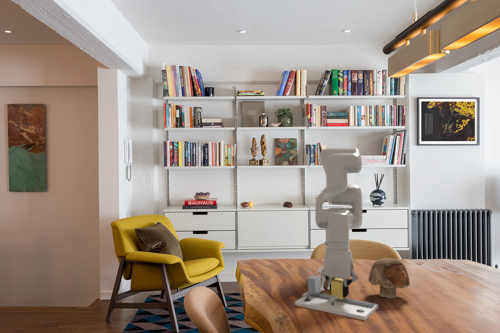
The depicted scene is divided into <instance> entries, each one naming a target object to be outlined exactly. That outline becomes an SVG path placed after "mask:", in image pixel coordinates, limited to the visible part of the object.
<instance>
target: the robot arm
mask: <svg viewBox="0 0 500 333" xmlns="http://www.w3.org/2000/svg"><path fill="white" fill-rule="evenodd" d="M319 158H320V163H321V166H322V168H323V170H324V172H325V177H326V179H325V181H326V182H325V184H326V185H325V187H324V188H323V189H322V190H321V191H320V193H319V194H318V196H317V198H316V201H315V206H314V207H315V210H314V211H315V212H314V215H315V217H314V220H315V225H316V226H317V228H319V229H324V230H325V241H324V245H325V252H324V259H323V260H324V261H323V265H324V269H323V271H322V272H321V274H320V276H321V277H322V276H324V277H325V278H326V279H325V281H326V282H327V281H328V283H329V284H330V290H329V293H331V281H332V280H334V279H336V278H340V279H343V282H344V286H343V298H347V297H348V296H349V294H350V285H351V284H352V283H354V282H356V281H357V280H359V278H358V276H357V274H356V272H355V271H354V268H355V267H354V260H353V254H352V250H351V249H350V229H351V230H352V229H360V228H361V227H362V224H363V197H362V189H361V187H360V186H359V185H357V184H348V174H359V173H360V172H362V167H363V161H362V156H361V154H360V150H359V149H358V148H357V147H330V148H323V149H321V151H320V154H319ZM326 201H327V203H328V204H329V205H334V206H350V207H329V208H327V209H325V208H324V209H323V205H324V203H325V202H326ZM328 283H327V284H328Z"/></svg>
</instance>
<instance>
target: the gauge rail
mask: <svg viewBox="0 0 500 333" xmlns="http://www.w3.org/2000/svg"><path fill="white" fill-rule="evenodd" d="M321 277H322V275H316V274H313V275H311V276H309V277H307V291H306V292H305V293H303V294H302V295H301V296H302V297H303V298H305V297H306V300H309V296H315V297H320V298H325V299H330V298H331V294H326V293H321V292H322V291H321V284H322V278H321ZM302 297H301V298H302ZM335 301H340V302H345V303H350V304H355V305H360V306H366V307H371V308H373V307H374V304H375V303H372V302H368V301H362V300H356V299H354V298H347V297H345V298H343V299H336V300H335Z"/></svg>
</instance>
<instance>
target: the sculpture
mask: <svg viewBox="0 0 500 333" xmlns="http://www.w3.org/2000/svg"><path fill="white" fill-rule="evenodd" d="M367 279H368V280H367V281H368V283H370V284H371V286H378V285H379V297H381V298H385V299H388V298H393V299H395V298H396V297H397V289H404V288H407V287H410V285H411V284H410V282H411V281H410V277H409V273H408V271H407V268H406V266H405V264H404V263H403V262H402V261H401V260H399V259H397V258H396V259H395V258H392V257H384V258H380V259H377V260H376V261H375V262H373V264H372V265H371V267H370V270H369V276H368V278H367Z"/></svg>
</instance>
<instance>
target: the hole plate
mask: <svg viewBox="0 0 500 333" xmlns="http://www.w3.org/2000/svg"><path fill="white" fill-rule="evenodd" d="M294 305H295V306H298V307H302V308H305V309H306V308H307V309H311V310H316V311H321V312H326V313H330V314H335V315H339V316H345V317H349V318H352V319H358V320H362V321H366V320H367V319H369V317H370V316H372V315H373V313H375V312H376V311H377V309H379V304H378V303H374V307H373V308H371V307H366V306H360V305H355V304H350V303H345V302H340V301H335V300H334V305H331V303H328V299H325V298H320V297H315V296H309V300H306V297H305V298H303V297H300V298H299V299H298V300H296V301H294Z"/></svg>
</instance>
